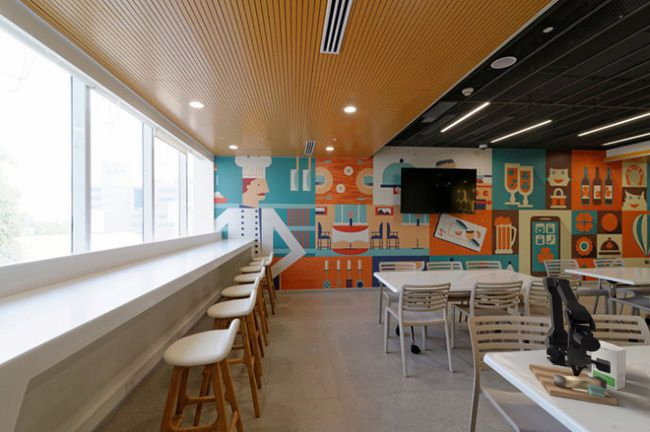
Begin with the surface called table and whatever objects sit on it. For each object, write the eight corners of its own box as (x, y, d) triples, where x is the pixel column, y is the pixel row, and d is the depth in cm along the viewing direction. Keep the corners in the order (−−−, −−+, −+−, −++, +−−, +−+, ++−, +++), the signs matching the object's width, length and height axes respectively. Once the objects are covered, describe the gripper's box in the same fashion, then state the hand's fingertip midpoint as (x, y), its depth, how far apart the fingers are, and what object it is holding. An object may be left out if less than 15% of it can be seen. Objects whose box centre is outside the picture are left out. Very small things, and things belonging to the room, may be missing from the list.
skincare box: (590, 379, 115) (590, 342, 115) (600, 376, 117) (599, 339, 118) (617, 391, 107) (617, 350, 107) (627, 387, 109) (626, 348, 110)
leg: (558, 387, 106) (558, 379, 106) (551, 382, 109) (551, 374, 109) (607, 389, 105) (607, 381, 105) (598, 383, 108) (598, 375, 108)
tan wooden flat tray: (528, 368, 124) (528, 357, 124) (583, 375, 118) (583, 364, 118) (550, 395, 105) (549, 382, 105) (616, 406, 99) (616, 392, 99)
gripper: (544, 338, 111) (543, 376, 111) (610, 356, 97) (609, 399, 98) (548, 330, 119) (548, 366, 119) (611, 346, 105) (610, 386, 105)
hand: (576, 379), depth 110 cm, fingers closed
